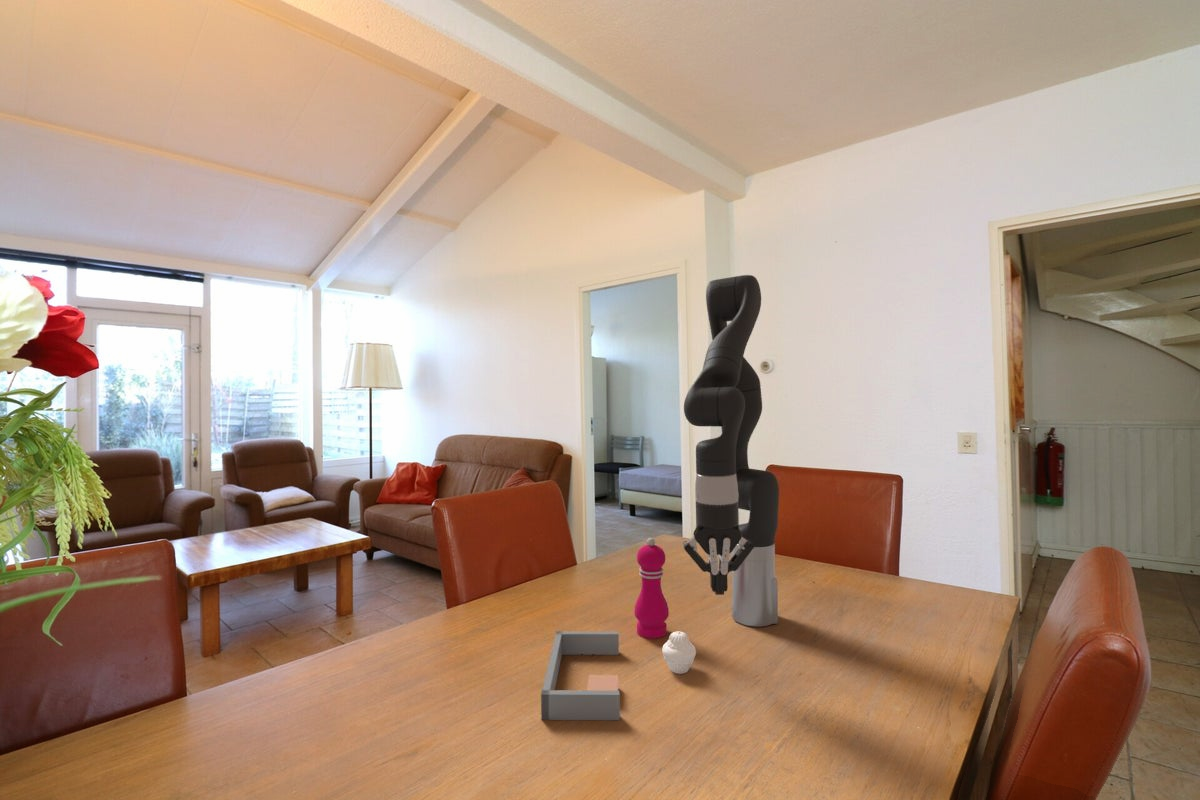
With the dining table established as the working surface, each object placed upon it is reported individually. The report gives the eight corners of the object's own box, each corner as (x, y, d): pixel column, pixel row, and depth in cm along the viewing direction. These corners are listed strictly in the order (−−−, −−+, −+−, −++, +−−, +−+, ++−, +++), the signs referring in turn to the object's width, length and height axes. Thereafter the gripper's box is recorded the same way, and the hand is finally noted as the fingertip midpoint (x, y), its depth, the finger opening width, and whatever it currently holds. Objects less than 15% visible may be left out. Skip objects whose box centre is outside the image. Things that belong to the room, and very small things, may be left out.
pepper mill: (667, 641, 113) (666, 543, 113) (632, 638, 115) (631, 541, 114) (670, 626, 120) (669, 534, 120) (636, 623, 122) (636, 532, 121)
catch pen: (618, 651, 109) (618, 631, 109) (619, 720, 87) (619, 694, 86) (556, 651, 109) (556, 631, 109) (541, 719, 87) (541, 694, 87)
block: (618, 689, 96) (618, 675, 96) (617, 706, 91) (617, 691, 91) (589, 689, 96) (589, 675, 96) (587, 705, 91) (587, 690, 91)
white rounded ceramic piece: (666, 659, 106) (666, 622, 106) (698, 664, 104) (698, 627, 104) (658, 675, 100) (658, 636, 100) (692, 680, 98) (692, 641, 98)
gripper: (748, 492, 104) (750, 584, 104) (677, 494, 104) (679, 586, 105) (759, 502, 96) (761, 600, 97) (682, 504, 97) (684, 602, 97)
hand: (718, 593), depth 101 cm, fingers closed
